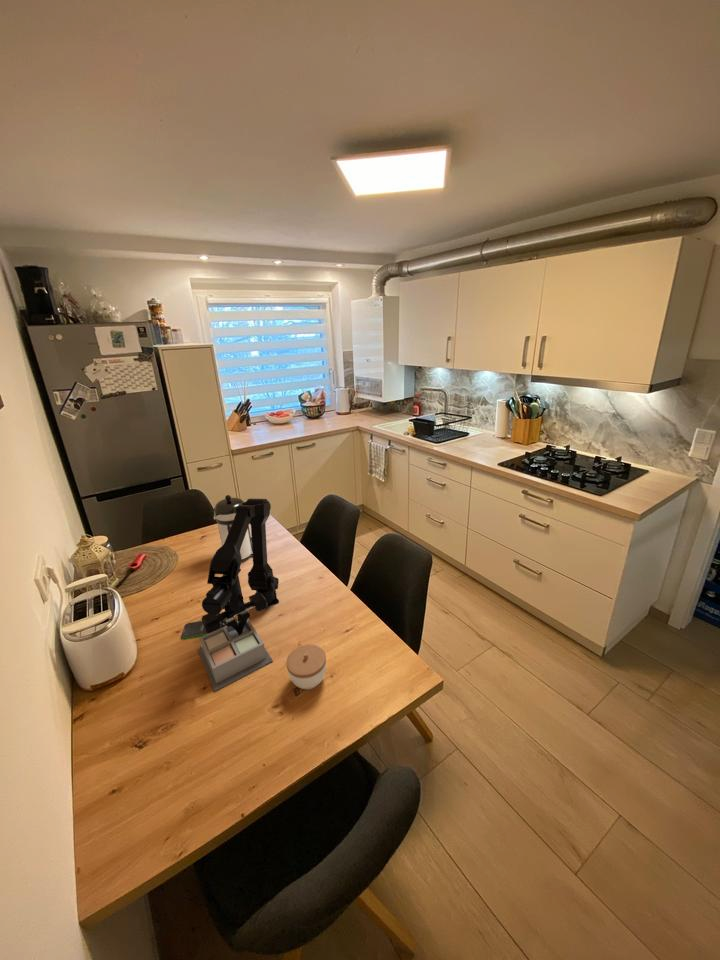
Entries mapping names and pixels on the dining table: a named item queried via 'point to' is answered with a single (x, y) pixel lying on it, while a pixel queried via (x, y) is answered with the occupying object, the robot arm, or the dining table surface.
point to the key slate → (235, 634)
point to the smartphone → (196, 629)
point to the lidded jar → (306, 666)
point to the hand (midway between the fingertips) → (239, 633)
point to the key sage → (246, 643)
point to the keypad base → (233, 658)
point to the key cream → (215, 640)
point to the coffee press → (225, 517)
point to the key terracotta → (222, 655)
